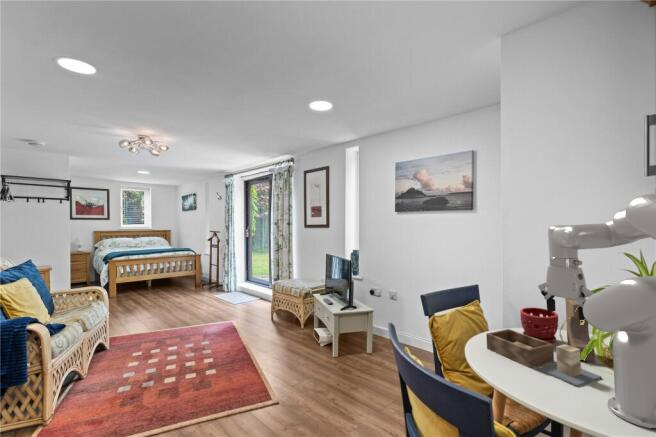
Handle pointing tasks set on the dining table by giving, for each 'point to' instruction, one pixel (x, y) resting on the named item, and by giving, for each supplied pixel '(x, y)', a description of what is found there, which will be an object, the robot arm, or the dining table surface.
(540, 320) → the plant pot
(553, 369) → the mat
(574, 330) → the decorative block
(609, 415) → the dining table surface
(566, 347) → the maple block
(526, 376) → the dining table surface
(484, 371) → the dining table surface
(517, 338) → the walnut box
